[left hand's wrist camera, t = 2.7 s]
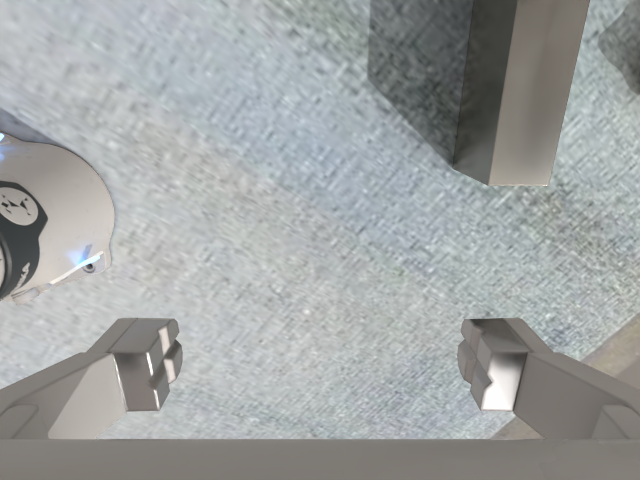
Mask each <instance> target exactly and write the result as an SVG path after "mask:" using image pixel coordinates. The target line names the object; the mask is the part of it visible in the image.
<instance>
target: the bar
mask: <svg viewBox="0 0 640 480" xmlns="http://www.w3.org/2000/svg"><path fill="white" fill-rule="evenodd" d="M589 2H590V0H474V4H473V12H472V20H471V28H470V36H469V43H468V51H467V59H466V67H465V75H464V82H463V90H462V98H461V106H460V114H459V122H458V129H457V137H456V145H455V153H454V161H453V169H454V170H456V171H459V172H461V173H463V174H465V175H467V176H469V177H471V178H473V179H475V180H477V181H479V182H481V183H484V184H486V185H488V186H548V185H549V182H550V177H551V173H552V168H553V164H554V159H555V155H556V150H557V146H558V141H559V137H560V132H561V128H562V123H563V119H564V114H565V110H566V105H567V101H568V97H569V92H570V88H571V83H572V79H573V74H574V70H575V65H576V61H577V56H578V52H579V47H580V43H581V38H582V34H583V29H584V25H585V20H586V16H587V11H588V7H589Z"/></svg>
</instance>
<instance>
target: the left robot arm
mask: <svg viewBox="0 0 640 480" xmlns="http://www.w3.org/2000/svg"><path fill="white" fill-rule="evenodd" d="M114 222H115V213H114V206H113V202H112V199H111V196H110V194H109V191H108V189H107V187H106V186H105V184H104V182H103V181H102V179H101V178H100V177H99V175H98V174H97V173H96V172H95V171H94V170H93V168H92V167H91V166H89V165H88V164H87V163H86V162H85V161H84V160H82V159H81V158H80V157H78V156H76V155H75V154H73V153H71V152H69V151H67V150H65V149H63V148H60V147H58V146H54V145H50V144H45V143H33V142H24V141H21V140H19V139H17V138H14V137H12V136H10V135H8V134H5V133H2V132H0V301H1V300H4V301H7V302H12V301H14V302H15V303H16V304H18V305H22V304H24V303H26V302H28V301H30V300H32V299H34V298H36V297H37V296H38V295H39V294H40V293H43V292H45V291H47V290H49V289H52V288H55V287H58V286H61V285H64V284H67V283H70V282H73V281H76V280H79V279H82V278H85V277H88V276H91V275H94V274H97V273H100V272H103V271H105V270H106V269H108V268H109V267H110V265H111V254H110V248H109V243H110V239H111V236H112V232H113V229H114ZM89 263H90V264H92V266H93V267H91V266H90V265H89ZM178 333H179V328H178V323H177V321H176V320H175V319H165V318H121V319H118V320H117V321H116V322H115V323H114V324H113V325H112V326H111V327H110V328H109V329H108V330H107V331H106V332H105V333H104V334H103V335H102V336H101V337H100V338H99V339H98V340H97V342H96V343H95V344H94V345H93V346H92V347H91V348H90V349H89V350H88V351H87V352H86V353H78V354H76V355H74V356H72V357H70V358H67V359H65V360H63V361H61V362H59V363H57V364H54V365H52V366H50V367H48V368H46V369H44V370H42V371H39V372H37V373H35V374H33V375H31V376H29V377H26V378H24V379H22V380H20V381H18V382H16V383H14V384H11V385H9V386H7V387H5V388H3V389H1V390H0V480H640V390H639V389H637V388H635V387H633V386H631V385H628V384H626V383H624V382H622V381H620V380H618V379H616V378H613V377H611V376H609V375H607V374H605V373H603V372H601V371H598V370H596V369H594V368H592V367H590V366H588V365H585V364H583V363H581V362H579V361H577V360H575V359H573V358H570V357H568V356H566V355H564V354H562V353H554V352H553V351H552V350H551V349H550V348H549V347H548V346H547V345H546V344H545V343H544V341H543V340H542V339H541V338H540V337H539V336H538V335H537V334H536V333H535V332H534V331H533V330H532V329H531V328H530V327H529V326H528V325H527V324H526V323H525V322H524V321H523V320H522V319H520V318H496V319H464V321H463V323H462V327H461V333H462V335H463V337H464V338H465V339H464V340H463V341H462V342H461V343H460V344H459V346H458V354H457V357H458V366H459V369H460V373H461V375H462V377H463V379H464V380H466V381H467V382H468V383H470V384H471V389H470V392H471V394H472V396H473V398H474V400H475V401H476V403H477V405H478V407H479V409H480V411H514V414H515V415H517V416H518V417H519V418H520V419H522V420H523V421H524V422H525V423H526V424H528V425H529V426H530V427H531V428H533V429H534V430H535V431H536V432H538V433H539V434H540V435H541V436H543V437H544V438H545V439H95V438H96V437H98V436H99V435H100V434H101V433H102V432H104V431H105V430H106V429H107V428H109V427H110V426H111V425H112V424H114V423H115V422H116V421H117V420H119V419H120V418H121V417H122V416H124V415H125V414H126V411H160V409H161V407H162V405H163V403H164V401H165V400H166V398H167V396H168V394H169V392H170V389H169V384H170V383H172V382H173V381H174V380H176V379H177V377H178V375H179V373H180V369H181V365H182V354H183V353H182V346H181V344H180V343H179V342H178V341H177V340H176V339H175V338H176V337H177V335H178Z"/></svg>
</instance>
